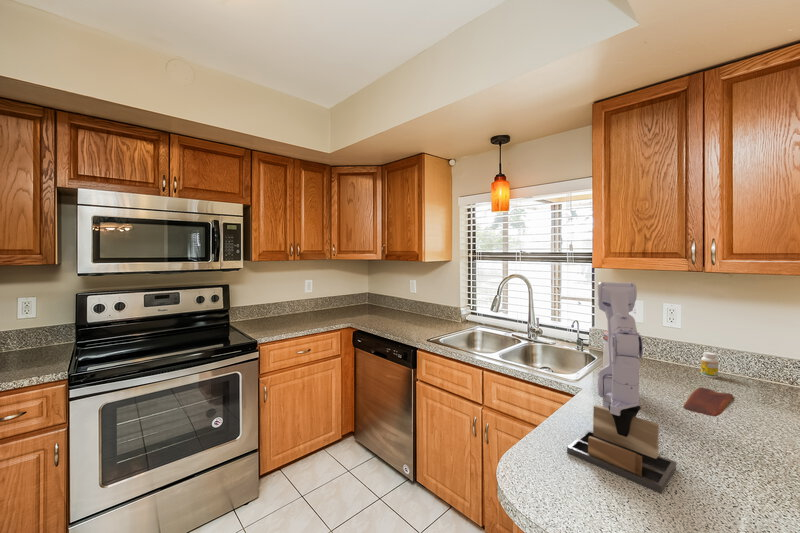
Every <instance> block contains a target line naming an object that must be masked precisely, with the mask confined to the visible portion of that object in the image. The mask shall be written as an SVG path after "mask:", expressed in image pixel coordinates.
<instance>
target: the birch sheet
mask: <svg viewBox="0 0 800 533" xmlns="http://www.w3.org/2000/svg"><path fill="white" fill-rule="evenodd" d="M592 415H593V418H592V422H593V423H592V426H593V427H592V431H593V435H594V436H596V437H599V438H602V439H604V440H607V441H610V442H612V443H615V444H618V445H620V446H623V447H626V448H628V449H631V450H634V451H636V452H639V453H642V454H644V455H647V456H650V457H652V458H655V459H657V457H658V456H659V434H660V433H659V432H660V431H659V430H660V424H659V423H656V422H655V421H650V420H647V419H643V418H640V417H638V416H636V417H633V419H632V421H631V425H630V430H629V434H628V436H627V437H625V436H622V435H619V434H618V433H617V430H616V425H615V421H614V418H613V416H612V414H611V413H610V411H609V408H605V407H603V405H598V404H595V405H593V414H592Z"/></svg>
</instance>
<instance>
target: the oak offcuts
mask: <svg viewBox="0 0 800 533" xmlns="http://www.w3.org/2000/svg"><path fill="white" fill-rule="evenodd" d="M588 454H590V455H592V456H595V457H597V458H599V459H602V460H604V461H607V462H609V463H611V464H614V465H616V466H619V467H621V468H623V469H626V470H628V471H631V472H633V473H635V474H638V475H640V476H642V456H640V455H638V454H636V453H634V452H631V451H628V450H626V449H623V448H621V447H618V446H615V445H613V444H610V443H607V442H605V441H602V440H599V439H597V438H594V437H591V436H589V437H588Z"/></svg>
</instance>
